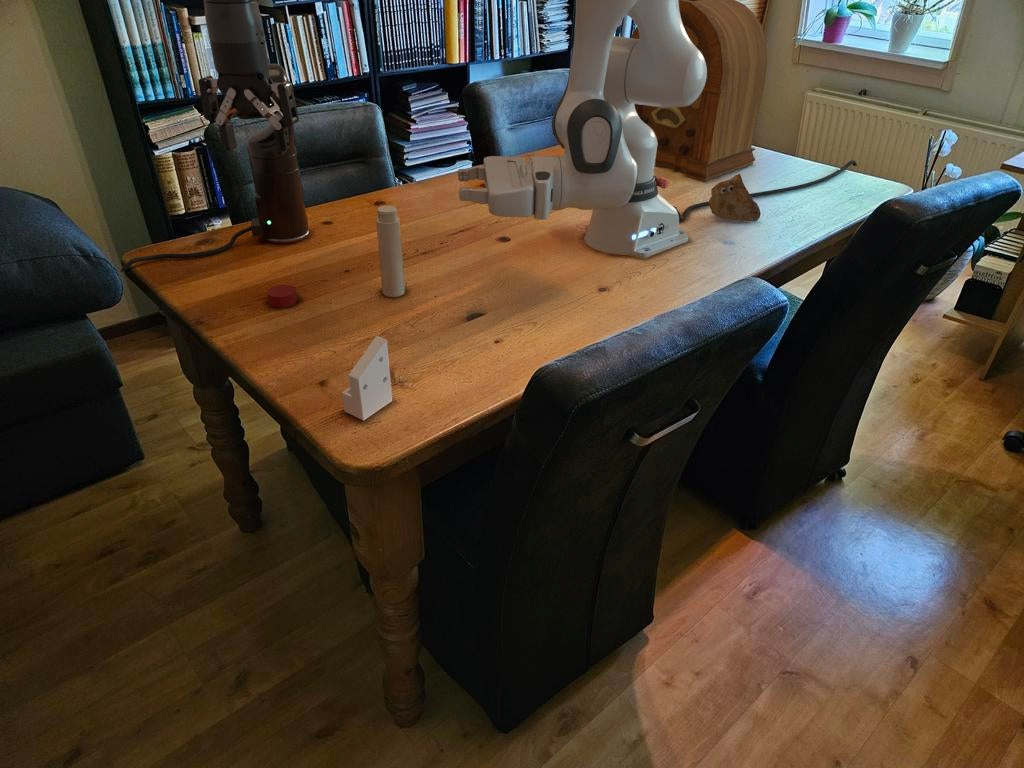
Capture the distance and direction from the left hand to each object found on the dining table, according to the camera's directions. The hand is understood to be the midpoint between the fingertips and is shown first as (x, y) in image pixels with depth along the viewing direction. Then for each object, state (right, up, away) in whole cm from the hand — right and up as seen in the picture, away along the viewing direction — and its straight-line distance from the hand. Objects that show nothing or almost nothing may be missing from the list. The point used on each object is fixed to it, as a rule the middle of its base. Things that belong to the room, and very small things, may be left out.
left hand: (257, 151), depth 111 cm
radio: (+87, +27, +90) cm, 128 cm away
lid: (-1, -20, +14) cm, 24 cm away
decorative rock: (+90, +1, +52) cm, 103 cm away
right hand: (+31, -3, +9) cm, 32 cm away
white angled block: (+20, -40, -11) cm, 45 cm away
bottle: (+18, -20, +19) cm, 33 cm away
